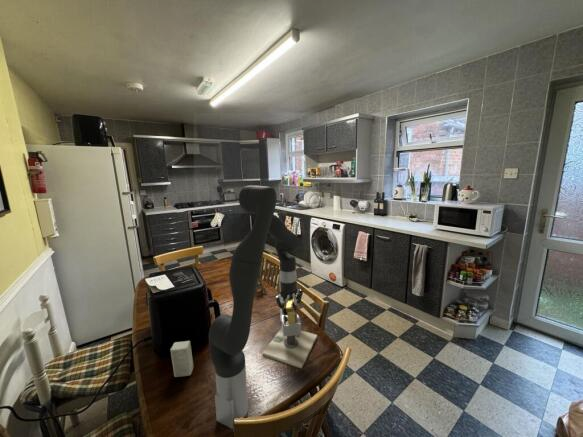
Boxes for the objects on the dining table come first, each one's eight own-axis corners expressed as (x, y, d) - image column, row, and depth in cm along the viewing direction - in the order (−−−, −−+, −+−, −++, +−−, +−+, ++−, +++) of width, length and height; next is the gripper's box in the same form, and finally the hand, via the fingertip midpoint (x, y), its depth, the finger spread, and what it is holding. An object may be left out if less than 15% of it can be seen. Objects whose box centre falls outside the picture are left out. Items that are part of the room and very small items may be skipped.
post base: (301, 368, 93) (301, 343, 91) (262, 355, 100) (261, 331, 98) (317, 337, 111) (317, 315, 109) (283, 327, 118) (282, 307, 116)
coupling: (300, 334, 101) (300, 313, 99) (283, 336, 100) (282, 315, 98) (296, 319, 112) (296, 300, 110) (281, 321, 111) (280, 301, 109)
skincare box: (193, 366, 95) (191, 340, 93) (190, 376, 90) (187, 348, 88) (177, 368, 94) (174, 341, 92) (173, 377, 90) (169, 349, 88)
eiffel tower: (249, 290, 158) (247, 255, 153) (264, 287, 162) (263, 252, 158) (253, 297, 148) (251, 260, 144) (269, 294, 152) (267, 257, 148)
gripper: (277, 285, 98) (278, 322, 101) (306, 278, 104) (307, 312, 107) (270, 279, 104) (272, 313, 108) (298, 272, 111) (299, 305, 114)
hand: (289, 313), depth 107 cm, fingers closed on coupling, 4 cm apart
